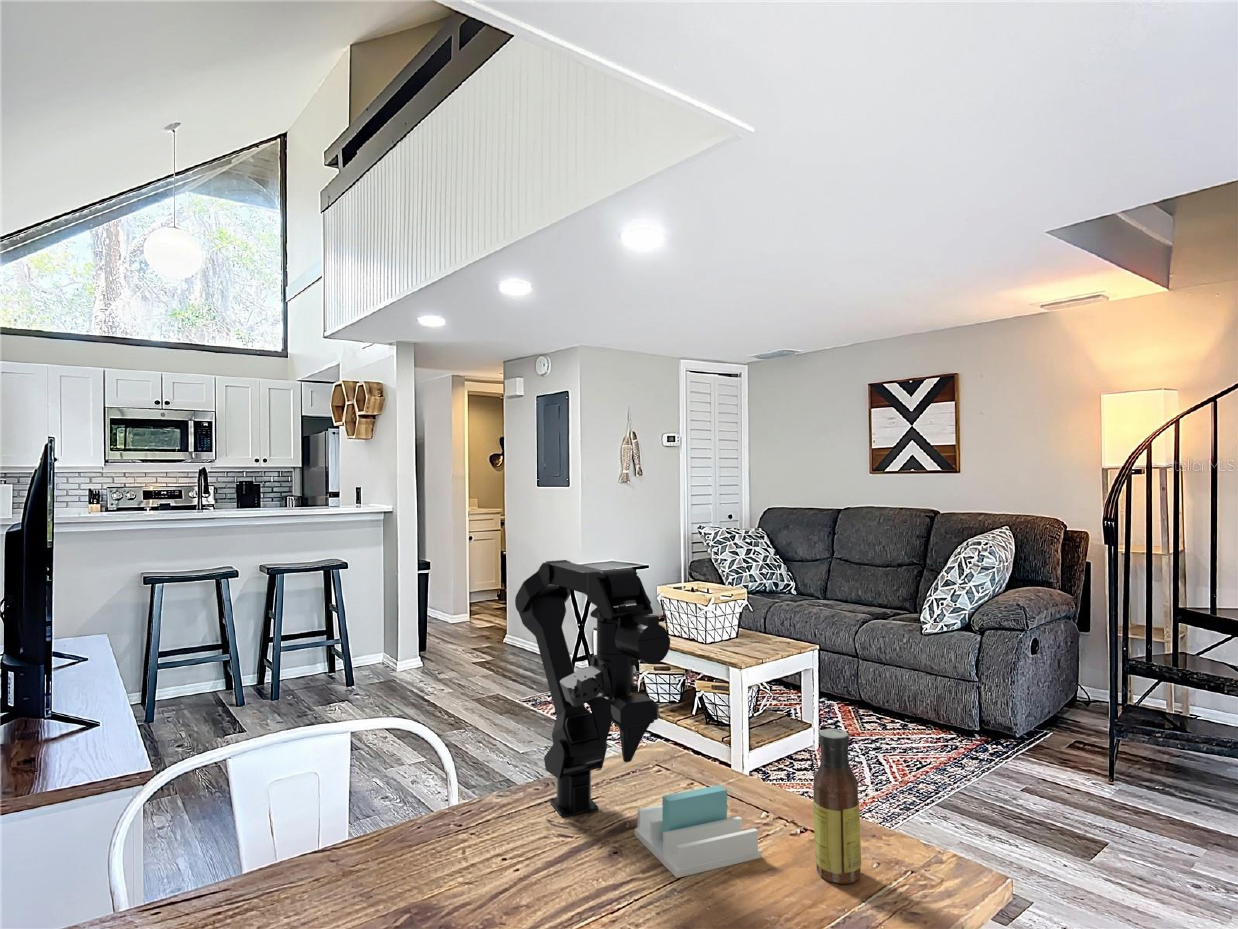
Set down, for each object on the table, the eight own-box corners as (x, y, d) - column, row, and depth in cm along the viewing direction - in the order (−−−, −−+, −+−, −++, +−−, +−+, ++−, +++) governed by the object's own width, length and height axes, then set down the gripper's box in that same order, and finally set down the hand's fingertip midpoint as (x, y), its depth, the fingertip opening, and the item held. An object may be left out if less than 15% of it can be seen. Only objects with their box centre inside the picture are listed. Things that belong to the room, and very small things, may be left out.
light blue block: (662, 843, 114) (662, 796, 114) (719, 830, 119) (720, 785, 119) (668, 849, 113) (668, 801, 113) (726, 836, 117) (727, 790, 117)
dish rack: (634, 835, 119) (634, 809, 119) (712, 819, 125) (712, 794, 125) (676, 878, 107) (676, 849, 107) (761, 857, 112) (761, 830, 112)
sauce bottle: (856, 864, 110) (856, 726, 111) (865, 888, 104) (866, 741, 104) (809, 862, 111) (810, 724, 111) (816, 885, 105) (817, 739, 105)
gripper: (546, 642, 124) (545, 739, 124) (589, 670, 107) (589, 782, 107) (609, 636, 129) (608, 729, 129) (660, 662, 112) (660, 770, 112)
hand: (614, 751), depth 119 cm, fingers open, 9 cm apart
